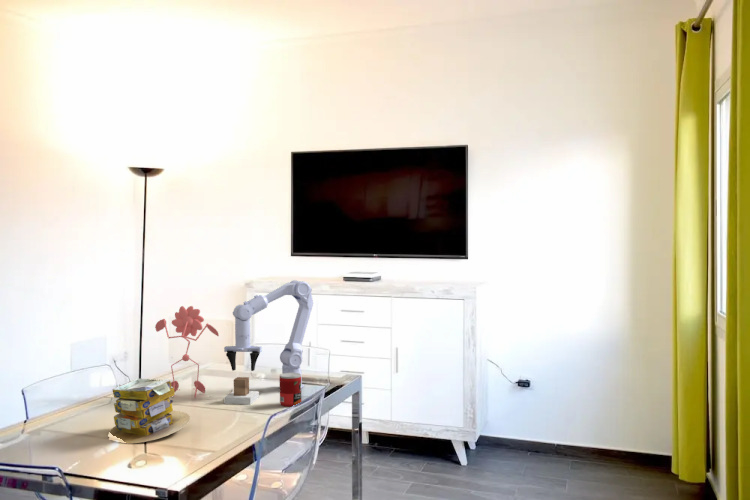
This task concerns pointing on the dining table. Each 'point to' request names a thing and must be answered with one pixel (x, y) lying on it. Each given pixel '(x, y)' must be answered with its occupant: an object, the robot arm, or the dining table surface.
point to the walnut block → (241, 386)
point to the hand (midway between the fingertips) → (243, 370)
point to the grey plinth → (241, 398)
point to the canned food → (290, 389)
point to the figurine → (187, 324)
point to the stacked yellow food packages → (146, 411)
